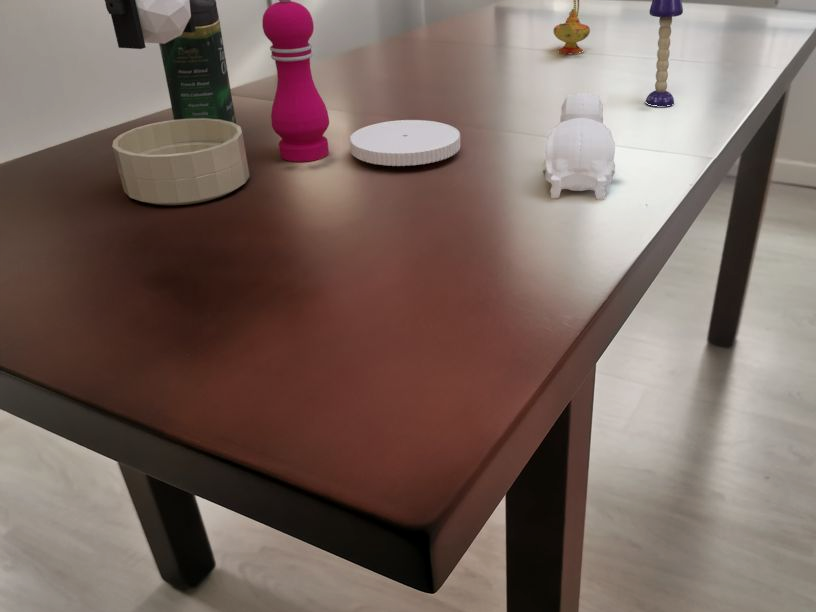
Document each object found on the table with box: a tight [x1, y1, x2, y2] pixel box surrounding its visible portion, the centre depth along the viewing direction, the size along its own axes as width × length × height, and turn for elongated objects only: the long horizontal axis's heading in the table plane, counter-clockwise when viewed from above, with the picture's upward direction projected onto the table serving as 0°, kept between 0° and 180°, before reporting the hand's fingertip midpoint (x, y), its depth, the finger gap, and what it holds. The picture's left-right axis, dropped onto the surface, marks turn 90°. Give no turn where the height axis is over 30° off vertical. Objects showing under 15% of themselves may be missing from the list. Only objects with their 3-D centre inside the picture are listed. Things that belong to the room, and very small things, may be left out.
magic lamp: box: [552, 0, 591, 55], centre depth 149 cm, size 7×18×11 cm, turn 165°
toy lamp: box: [644, 0, 684, 108], centre depth 117 cm, size 5×5×17 cm
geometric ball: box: [135, 0, 191, 44], centre depth 83 cm, size 8×8×8 cm
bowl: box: [111, 118, 250, 206], centre depth 94 cm, size 14×14×6 cm
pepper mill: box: [262, 0, 330, 163], centre depth 99 cm, size 7×7×20 cm
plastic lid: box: [349, 119, 461, 167], centre depth 103 cm, size 14×14×2 cm
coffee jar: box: [158, 0, 237, 124], centre depth 108 cm, size 10×8×19 cm
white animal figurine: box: [542, 91, 616, 201], centre depth 93 cm, size 8×8×15 cm
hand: (158, 38), depth 85 cm, fingers closed on geometric ball, 8 cm apart
